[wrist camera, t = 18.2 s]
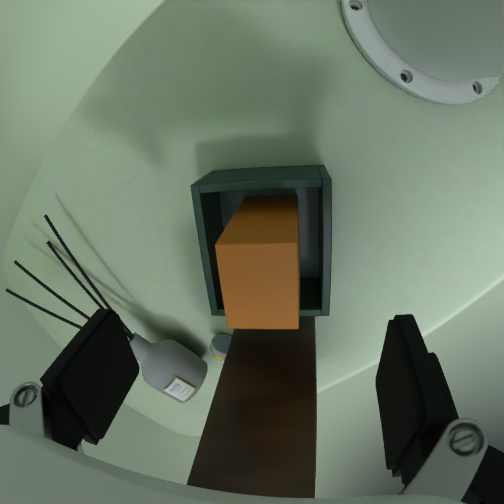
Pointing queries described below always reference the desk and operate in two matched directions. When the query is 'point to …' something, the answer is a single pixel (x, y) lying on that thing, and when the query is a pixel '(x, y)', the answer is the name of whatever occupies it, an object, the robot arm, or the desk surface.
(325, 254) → the bin
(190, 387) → the reed diffuser
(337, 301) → the desk surface
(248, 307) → the orange block
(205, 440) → the stand
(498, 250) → the desk surface
